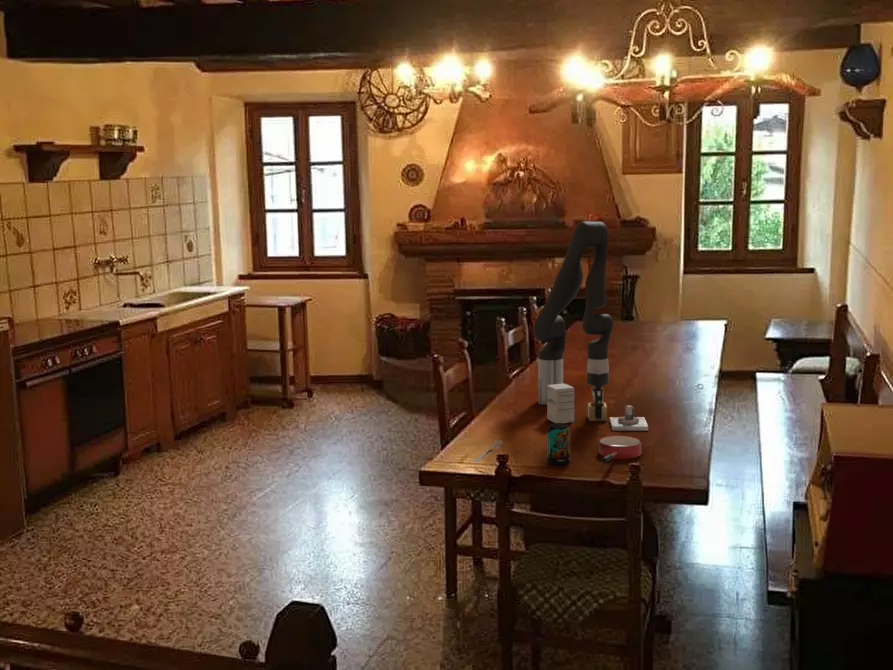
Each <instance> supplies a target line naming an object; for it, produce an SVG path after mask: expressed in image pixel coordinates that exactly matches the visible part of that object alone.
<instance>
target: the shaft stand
mask: <svg viewBox="0 0 893 670" xmlns="http://www.w3.org/2000/svg"><path fill="white" fill-rule="evenodd" d="M609 424H610V427H611V431H612V432H614V431H617V432H620V431H622V432H623V431H624V432H629V431H633V432H634V431H635V432H636V431H638V432H640V431H642V432H643V431H645V432H646V431H649V424H648V423H647V420H646V419H645V417H644V416H642V417H641V416H637V417H635V407H633V405H629V404H628V405H624V416H619V417H618V416H617V417H616V416H615V417H614V416H611V417H609Z"/></svg>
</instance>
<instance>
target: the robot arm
mask: <svg viewBox="0 0 893 670" xmlns="http://www.w3.org/2000/svg"><path fill="white" fill-rule="evenodd" d="M608 230H609V229H608V227H607V225H606V223H604V222H603V221H588V220H587V221H586V220H585V221H580V222H578V223H577V225H576V226H575V227H574V230H573V232H572V236H571V237H570V241H569V245H568V249H567V251H566V253H565V254H566V255H565V256H564V260H563V261H562V264H561V267H560V269H559V271H558V273H557V275H556V277H555V280H554V283H553V285H552V288H551V290H550V292H549V294H548V296H547V299H546V301H545V303H544V305H543V307H542V308H541V310H540V312H539V314H538V315H537V317H536V319H535V321H534V323H533V326H532V327H533V328H532V329H533V330H532V331H533V335H534V337H535V340H537V341H539V342H546V343H545V345H544V346H543V347H541V349H539V350H538V351H537V352H538V353H537V356H538V357H537V358H538V361H537V362H538V365H537V366H538V369H537V370H538V371H537V372H538V379H537V380H538V389H537V390H538V391H537V392H538V405H544V406H547V385H553V384H562V383H564V352H565V350H566V334H567V329H566V323H565V322H566V321H565V320H564V318H563V317H562V316H561V315H559V314H561V312H562V311H563V310H564V309H565V308H566V307H567V306H568V305H569V304H571V302H572V301H573V300H574V299H575V298H576V297H577V296H578V293H579V291H580V288H581V286H582V284H583V280H584V275H583V274H584V272H583V268H582V263H581V262H582V258H583V255H584V252H585V251H586V249H593V261H592V264H591V267H590V270H589V272H588V274H587V277H586V280H585V285H584V286H585V287H584V291H585V310H584V313H583V314H584V315H583V318H582V325H581V326H582V330H583V332H584V333H585V334H586V335H588V336H595V335H600V336H599V337H598V339H597V338H596V339H594V340H591V341H590V342H588V344H587V364H586V384H587V385H589V386H592V387H591V395H592V396H591V397H592V403H595V418H596V419H601V418H602V407H603V403H604V394H605V393H604V391H605V390H604V387H603V386H607V385H608V384H609V382H610V381H609V373H610V371H609V370H610V369H609V368H610V367H609V365H610V363H609V358H608V357H609V344H610V343H609V342H610V339H611V335H612V331H613V328H614V320H613V318H612V316H611V315H610V314H608V313H600V314H598V313H597V314H594V312H595V310H596V309H599V308H603V307H605V306H606V305H607V289H606V288H607V287H606V270H607V259H608V250H609V249H608V246H609V231H608ZM597 403H600V404H597Z"/></svg>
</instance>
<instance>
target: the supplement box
mask: <svg viewBox="0 0 893 670" xmlns="http://www.w3.org/2000/svg"><path fill="white" fill-rule="evenodd" d="M546 407H547V409H546V413H547V414H546V417H547V418H546V419H547V420H549V422H550V421H551V422H552V423H563V424H567V423H569V422H570V423H574V422H575V387H573V386H571V385H569V384H567V383H564V382H563V383H562V384H553V385H547V405H546Z"/></svg>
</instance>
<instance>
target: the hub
mask: <svg viewBox="0 0 893 670" xmlns="http://www.w3.org/2000/svg"><path fill="white" fill-rule="evenodd" d="M597 404H600V403H597ZM587 417H588V421H589V422H594V421H595V422H596V421H598V422H599V421H600V422H601V421H602V422H606V421H607V420H608V406H607V403H606V402H603V407H602V418H601V419H596V418H595V403H594V402H588V403H587Z"/></svg>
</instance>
